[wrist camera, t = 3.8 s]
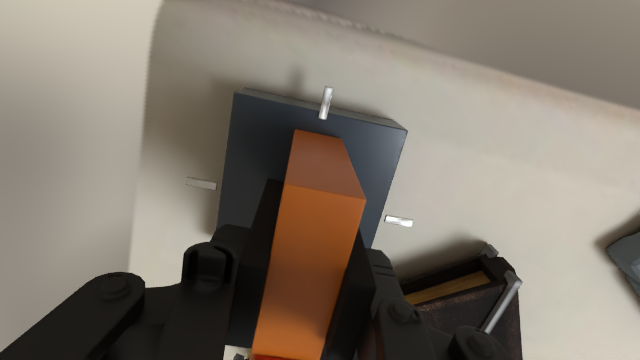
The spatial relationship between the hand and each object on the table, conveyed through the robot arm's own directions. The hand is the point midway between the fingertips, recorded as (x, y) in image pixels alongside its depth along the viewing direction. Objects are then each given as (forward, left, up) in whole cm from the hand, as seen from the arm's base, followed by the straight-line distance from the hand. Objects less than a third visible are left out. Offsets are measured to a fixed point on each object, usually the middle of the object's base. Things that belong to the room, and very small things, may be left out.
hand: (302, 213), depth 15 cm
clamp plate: (0, 0, -4) cm, 4 cm away
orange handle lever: (0, 0, -1) cm, 1 cm away
